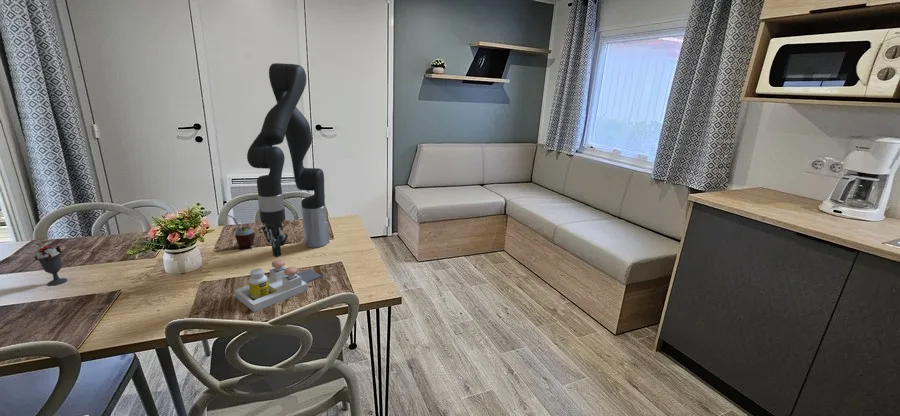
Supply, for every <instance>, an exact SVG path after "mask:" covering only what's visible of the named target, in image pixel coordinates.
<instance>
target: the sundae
mask: <svg viewBox="0 0 900 416" xmlns="http://www.w3.org/2000/svg"><path fill="white" fill-rule="evenodd" d="M36 245H37V246H39V249H38V253H37V254H36V255H35V256H34V260H35V261H38V262H39V263H40V265H41V267H42V269H43V270H44V272H45V273H47V274H51V275H52V278H53V279H52V280H50V281H49V282H47V286H48V287H52V286H58V285H63V284H64V283H67V282H68V278H65V277H63V278H62V277H59V274H58V273H59V271H60V270H61V269H62V268H63V267H62V264H63V263H62V254H64V252H63V251H62V249H61V246H59V245H57V246H56V248H55V247H54V246H48V245H44V244H41V243H36ZM41 246H43V248H41Z"/></svg>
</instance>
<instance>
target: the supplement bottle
mask: <svg viewBox="0 0 900 416" xmlns="http://www.w3.org/2000/svg"><path fill="white" fill-rule="evenodd" d="M249 275H250V277H249V279H248V285H249V288H250V296H249V297H250V299H251V300H253V301H254V300H256V299H259V298H261V297H264V296H266V295H269V294H270V291H269V289H268V279H267V278H268V276H267V275H265V269H263V268H253V269H252V270H250V272H249Z"/></svg>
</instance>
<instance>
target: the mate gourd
mask: <svg viewBox="0 0 900 416" xmlns="http://www.w3.org/2000/svg"><path fill="white" fill-rule="evenodd" d="M226 216H228V217H230V218H231V219H232V221H234V222H235V224H236V226H237V227H238V228H237V230H236V231H235V240H236V242H237V244H238V247H239V248H238V250H243V249H249V250H251V249H253V247H252V246H254V245H255V243H254V241H255V239H256V238H255V237H256V235H255V232H254V230H253V228H252V227H248V226H244V227H241V226H240V225H239V223H238V221H237V219H236V218H235V217H233V216H232V215H229V214H228V213H227V214H226Z"/></svg>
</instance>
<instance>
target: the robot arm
mask: <svg viewBox="0 0 900 416" xmlns="http://www.w3.org/2000/svg"><path fill="white" fill-rule="evenodd" d="M268 77H269V79H268V80H269V83H270V87H271V89H272V92H273V95H274V97H275V101H276V104H275V105H274V106H273V107H271V108H270V110H269V111H268V112H267V113H266V115H265V117H264V121H263V123H262V124H263V125H262V128H261V130H260V132H259V134H257V136H256V137H255V139H254V141H252V143H251V145H250V146H249V148H248V151H247V154H246V159H247V162H248V164H249V166H250V167H252V168H255V169H268V170H269V173H268V174H265V175H260V176H259V177H257V179H256V187H257V193H258V194H257V197H258V198H257V200H258V201H257V202H258V204H257V205H258V209H259V217H260V218H259V219H260V223H261V224H264V225H265V226H262V227H261V229H262V231H263V234H264V236H265V239H266V242H267V243H268V244H269V245H270V246H271V250H272V256H273V257H274V258H279V257H281V256H282V248H281V247H282V246H285V245H286V241H287V240H288V236H289V235H288V233H284V227H283V223H284V221H286V212H285V201H284V200H285V199H284V196H283V189H282V174H283V169H284V165H285V157H286V156H285V154H284V151H283V150H282V148H280V147H279V146H277V145H281V144H282V143H283V142H284V140H286V143H287V146H288V149H289V154H290V158H291V164H292V169H293V170H292V171H293V177H294V178H293V179H294V182H295V186H296V188H297V189H298V190H300V191H306V192H307V191H312V192H313V191H314V193H313V195H309V196H306V197H304V198H302V200H301V214H302V223H303V234H304V235H303V237H304V245H305V247H307V248H312V249H313V248H315V249H316V248H321V247H325V246H326V245H327V244H329V243H330V231H329V229H330V228H329V222H328V221H327V216H326V214H327V213H326V202H325V201H326V200H325V199H326V195H325V174H324V171H323V170H322V168H318V167H317V168H315V167H314V168H313V167H309V168H308V167H305V166H304V159H305V158H306V157H305V156H306V155H307V152H308V151H309V149H310V147H311V146H312V142H313V136H312V131H311V125H310V123H309V121H308V119H307V118H306V117H305V115H304V114H303V113H302V112H301V111H300V109H298V107H297V105H298V103H299V101H300V99H301V97H302V95H303V93H304V91H305V88H306V84H307V74H306V71H305V68H304V67H303V66H302V65H299V64H294V63H280V62H279V63H278V62H275V63H272V64H271V65H270V66H269V69H268Z"/></svg>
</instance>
